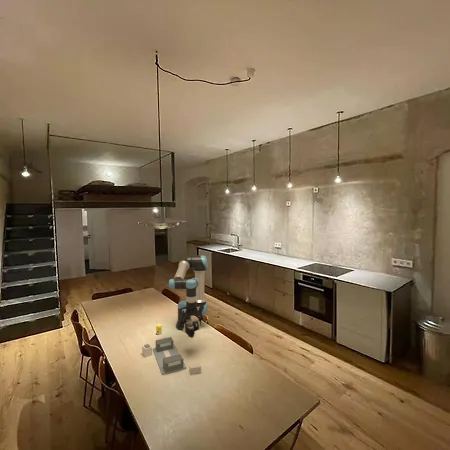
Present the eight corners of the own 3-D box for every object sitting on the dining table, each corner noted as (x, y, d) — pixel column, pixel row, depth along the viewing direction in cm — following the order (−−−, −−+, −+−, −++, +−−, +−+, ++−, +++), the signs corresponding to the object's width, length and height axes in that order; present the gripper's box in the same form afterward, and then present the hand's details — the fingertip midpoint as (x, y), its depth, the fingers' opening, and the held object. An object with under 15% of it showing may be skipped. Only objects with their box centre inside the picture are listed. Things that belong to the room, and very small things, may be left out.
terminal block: (199, 369, 175) (199, 363, 174) (200, 373, 171) (200, 366, 171) (189, 371, 173) (189, 365, 172) (190, 375, 169) (190, 368, 169)
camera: (202, 335, 190) (202, 321, 189) (189, 338, 185) (189, 324, 184) (193, 326, 203) (193, 314, 203) (180, 329, 198) (180, 316, 197)
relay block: (148, 351, 197) (148, 342, 196) (152, 355, 192) (152, 346, 192) (142, 354, 194) (142, 345, 193) (145, 357, 189) (145, 348, 189)
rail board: (173, 345, 206) (173, 336, 206) (186, 368, 175) (186, 358, 175) (152, 349, 199) (152, 340, 199) (162, 375, 168) (162, 364, 168)
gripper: (204, 297, 201) (204, 325, 202) (174, 301, 191) (174, 331, 193) (207, 300, 194) (207, 329, 195) (177, 305, 184) (177, 336, 186)
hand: (191, 330), depth 194 cm, fingers closed on camera, 10 cm apart
